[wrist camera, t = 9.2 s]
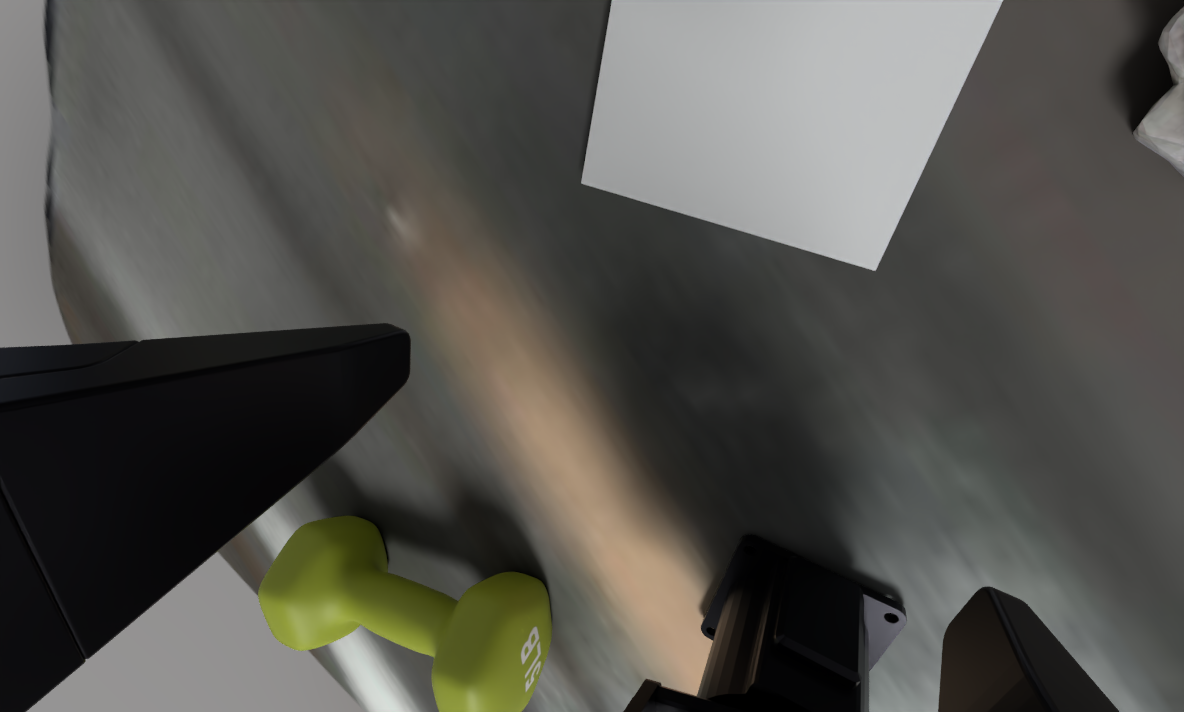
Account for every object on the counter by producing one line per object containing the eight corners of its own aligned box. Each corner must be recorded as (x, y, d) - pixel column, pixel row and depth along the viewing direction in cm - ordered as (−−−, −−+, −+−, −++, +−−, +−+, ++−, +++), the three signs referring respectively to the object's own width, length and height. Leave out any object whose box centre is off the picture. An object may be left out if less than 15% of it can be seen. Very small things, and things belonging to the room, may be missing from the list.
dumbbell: (558, 556, 28) (477, 674, 23) (567, 659, 32) (498, 785, 26) (338, 484, 35) (230, 560, 29) (364, 575, 38) (272, 660, 32)
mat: (874, 265, 17) (875, 270, 16) (588, 181, 19) (580, 183, 19) (1077, -165, 12) (1086, -178, 11) (653, -191, 15) (645, -201, 14)
